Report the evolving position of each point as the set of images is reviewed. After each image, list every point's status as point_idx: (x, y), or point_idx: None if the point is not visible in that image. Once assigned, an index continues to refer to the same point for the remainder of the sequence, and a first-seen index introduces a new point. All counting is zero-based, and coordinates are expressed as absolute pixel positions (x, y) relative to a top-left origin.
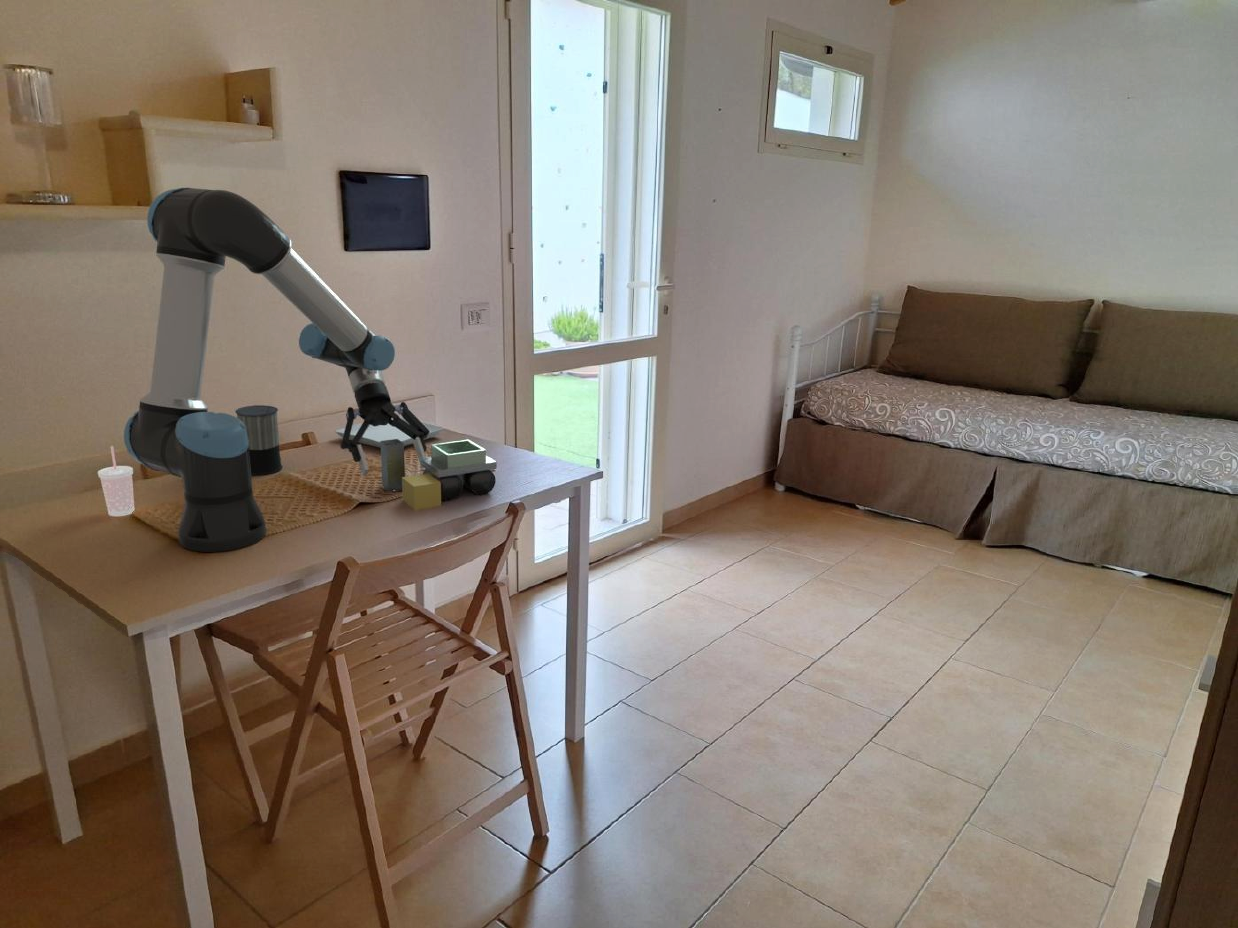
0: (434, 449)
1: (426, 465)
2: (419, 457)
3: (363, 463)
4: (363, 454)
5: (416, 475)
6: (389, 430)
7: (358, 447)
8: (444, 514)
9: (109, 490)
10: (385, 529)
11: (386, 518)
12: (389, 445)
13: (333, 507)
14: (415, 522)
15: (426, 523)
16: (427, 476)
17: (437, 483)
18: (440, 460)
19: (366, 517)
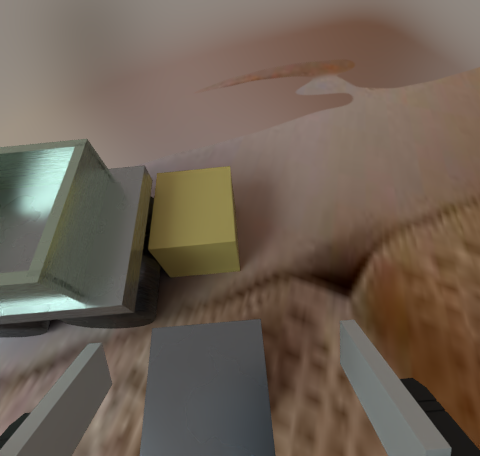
0: (60, 246)
1: (136, 251)
2: (87, 407)
3: (369, 341)
4: (382, 378)
5: (189, 240)
6: None
7: (433, 425)
8: None
9: None
10: (310, 145)
11: (300, 185)
12: (241, 321)
13: (421, 284)
14: (253, 155)
15: (236, 147)
16: (164, 222)
17: (166, 174)
18: (92, 212)
19: (339, 201)
